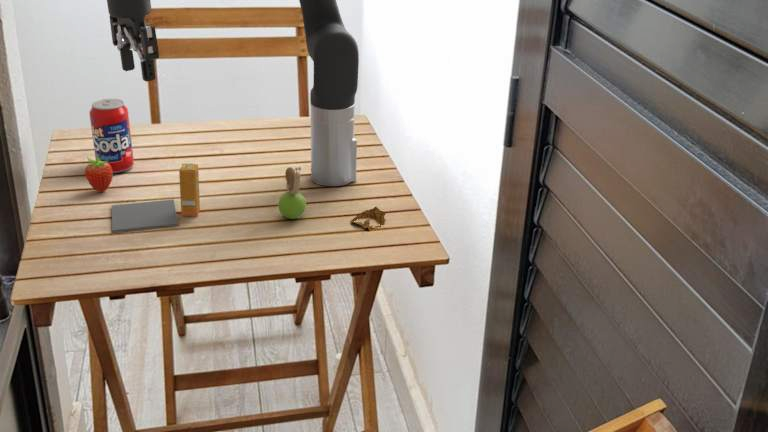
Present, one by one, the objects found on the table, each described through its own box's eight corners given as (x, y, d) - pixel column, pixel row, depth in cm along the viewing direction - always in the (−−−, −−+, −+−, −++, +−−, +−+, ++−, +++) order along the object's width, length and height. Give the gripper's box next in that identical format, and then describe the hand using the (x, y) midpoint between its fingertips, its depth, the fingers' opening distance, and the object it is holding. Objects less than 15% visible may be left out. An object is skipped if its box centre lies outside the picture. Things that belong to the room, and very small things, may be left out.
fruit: (116, 186, 175) (112, 150, 171) (113, 196, 170) (108, 160, 167) (89, 187, 174) (84, 152, 171) (86, 198, 170) (80, 161, 166)
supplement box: (199, 216, 164) (195, 169, 159) (181, 216, 163) (177, 169, 159) (201, 209, 167) (198, 163, 162) (184, 209, 166) (180, 162, 162)
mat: (173, 201, 169) (173, 199, 169) (178, 225, 160) (177, 223, 160) (112, 207, 166) (111, 205, 166) (112, 232, 157) (112, 230, 156)
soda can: (133, 159, 188) (126, 96, 181) (135, 173, 181) (128, 107, 174) (96, 163, 186) (87, 98, 179) (97, 177, 179) (88, 110, 172)
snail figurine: (286, 227, 160) (284, 170, 155) (274, 214, 166) (272, 158, 160) (312, 222, 163) (311, 165, 157) (300, 209, 168) (299, 153, 162)
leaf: (344, 222, 164) (344, 215, 163) (371, 209, 168) (371, 202, 167) (366, 237, 160) (366, 230, 159) (393, 224, 164) (393, 217, 163)
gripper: (164, -9, 147) (175, 80, 154) (129, -22, 157) (140, 63, 164) (124, -3, 143) (137, 88, 150) (90, -16, 152) (103, 70, 160)
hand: (138, 75), depth 157 cm, fingers open, 8 cm apart
